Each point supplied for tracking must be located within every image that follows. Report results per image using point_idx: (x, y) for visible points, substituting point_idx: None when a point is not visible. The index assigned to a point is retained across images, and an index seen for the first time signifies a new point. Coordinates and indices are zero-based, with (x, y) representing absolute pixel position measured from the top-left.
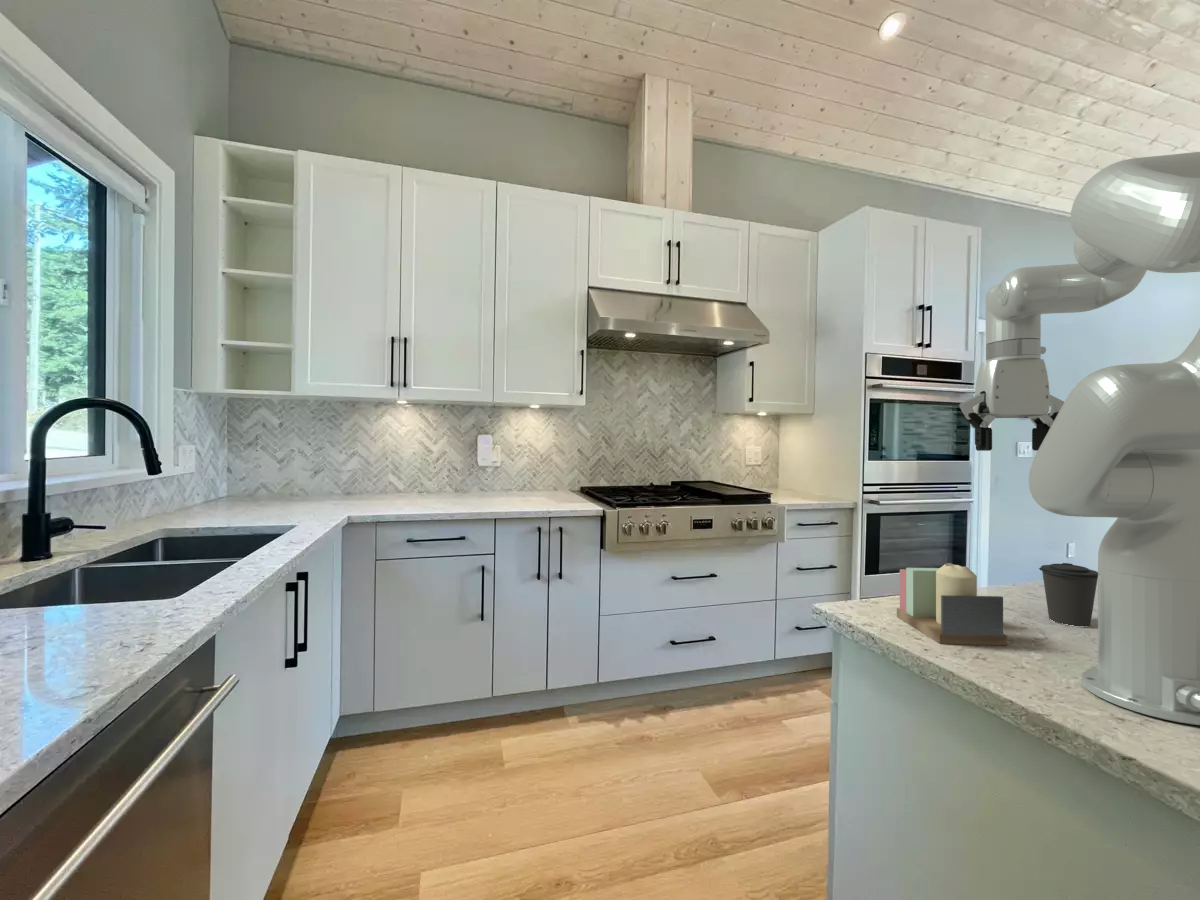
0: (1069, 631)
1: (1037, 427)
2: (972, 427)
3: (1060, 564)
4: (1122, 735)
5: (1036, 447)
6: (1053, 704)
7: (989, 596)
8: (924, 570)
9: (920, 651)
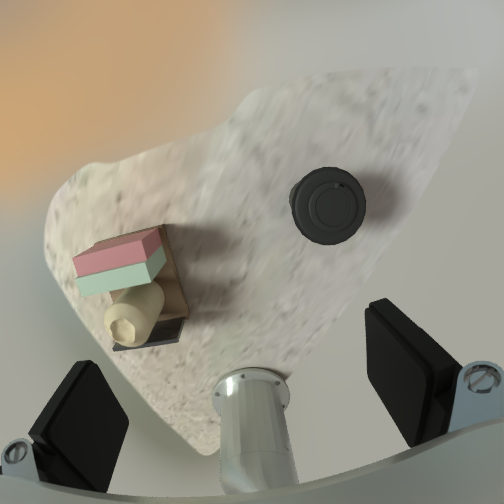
0: (286, 242)
1: (434, 405)
2: (15, 442)
3: (330, 189)
4: (201, 435)
5: (371, 336)
6: (180, 414)
7: (163, 343)
8: (95, 292)
9: (109, 347)
